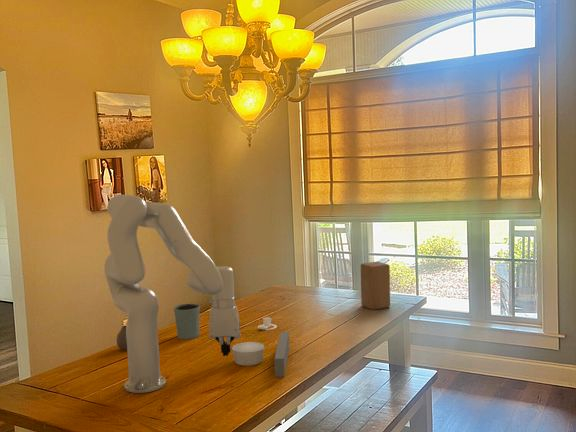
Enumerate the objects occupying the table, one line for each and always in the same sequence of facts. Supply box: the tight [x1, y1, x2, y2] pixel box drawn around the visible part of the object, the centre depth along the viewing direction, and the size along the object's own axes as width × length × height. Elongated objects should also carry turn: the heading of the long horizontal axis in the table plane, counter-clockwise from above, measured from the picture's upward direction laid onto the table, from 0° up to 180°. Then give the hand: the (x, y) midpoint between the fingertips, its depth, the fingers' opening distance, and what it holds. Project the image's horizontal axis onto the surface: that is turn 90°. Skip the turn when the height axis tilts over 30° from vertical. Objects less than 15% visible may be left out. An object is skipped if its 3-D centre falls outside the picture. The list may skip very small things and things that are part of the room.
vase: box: [116, 325, 127, 351], centre depth 217 cm, size 7×7×9 cm
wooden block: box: [360, 261, 391, 311], centre depth 264 cm, size 10×10×20 cm
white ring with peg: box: [257, 316, 278, 331], centre depth 239 cm, size 9×8×4 cm
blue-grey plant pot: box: [173, 303, 201, 340], centre depth 230 cm, size 10×10×12 cm
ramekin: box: [231, 341, 265, 367], centre depth 199 cm, size 11×11×5 cm
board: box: [274, 331, 290, 378], centre depth 198 cm, size 28×3×6 cm, turn 176°
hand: (226, 354), depth 200 cm, fingers closed
